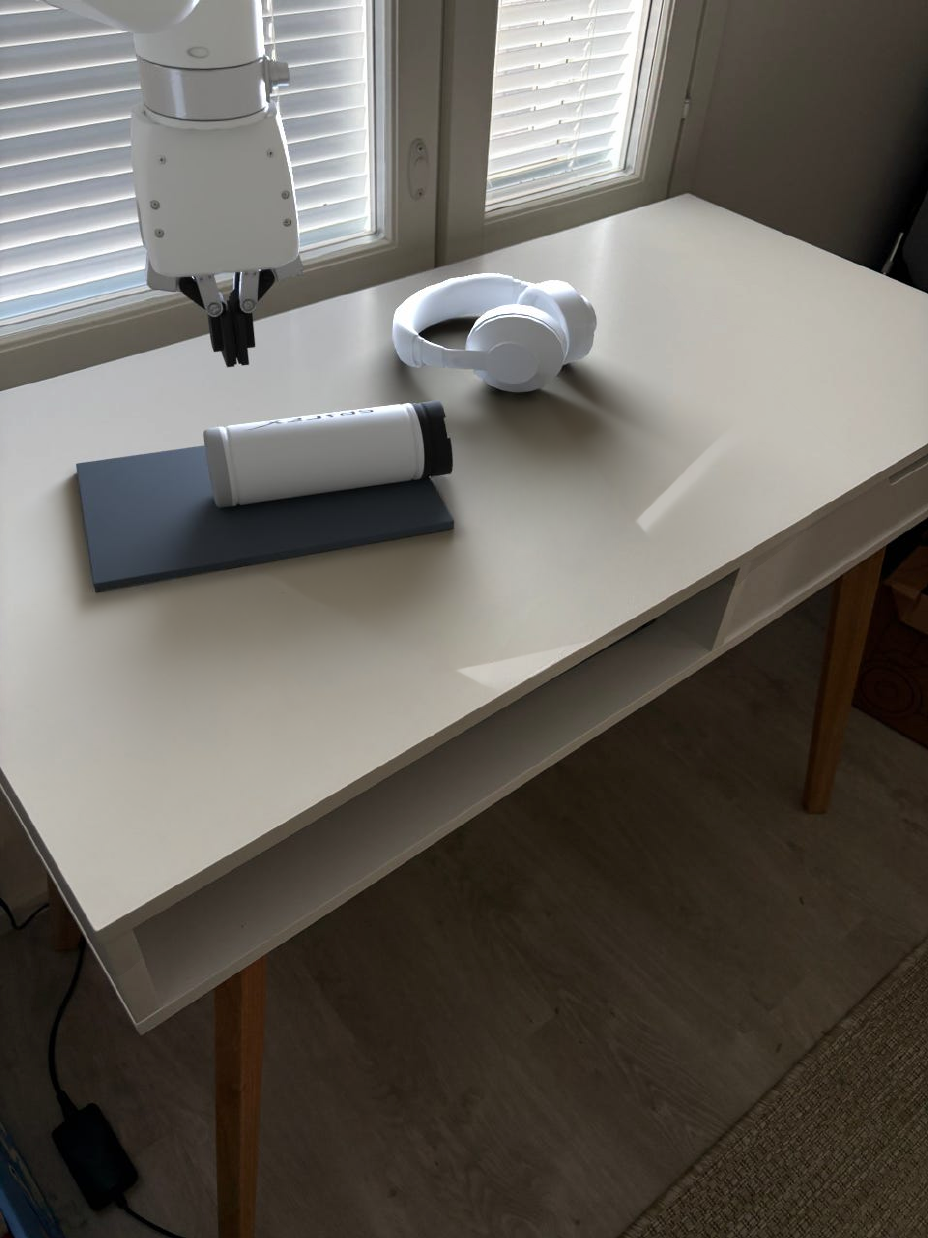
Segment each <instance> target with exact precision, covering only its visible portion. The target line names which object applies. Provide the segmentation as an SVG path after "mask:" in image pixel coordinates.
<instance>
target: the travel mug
mask: <svg viewBox="0 0 928 1238" xmlns="http://www.w3.org/2000/svg"><path fill="white" fill-rule="evenodd" d="M446 417H447V414H446V412H445V407H444V406H443V404H442V402H441V401H440V400H438V399H437V400H430V401H422V402H419V403H417V402H414V403H407V402H406V403H403V404H391V405H384V406H383V405H382V406H376V407H375V406H374V407H368V408H360V409H353V410H343V411H335V412H328V413H320V414H319V413H318V414H311V415H302V416H296V417H288V418H287V417H286V418H280V419H273V420H264V421H256V422H248V423H247V422H246V423H240V424H239V423H237V424H232V425H227V426H226V427H224V426H216V427H207V428H204V430H203V432H202V433H203V434H202V436H203V437H202V438H203V445H204V447H205V453H206V460H207V466H208V472H209V477H210V482H211V487H212V492H213V496H214V500H215V504H216V505H217V506H218V507H219V508H223V507H230V506H236V505H237V504H238V503H239V504H240V505H244V504H250V503H257V502H264V501H271V500H278V499H285V498H292V497H299V496H305V495H312V494H319V493H326V492H333V491H340V490H347V489H354V488H360V487H367V486H374V485H381V484H388V483H395V482H402V481H409V480H411V479H420V478H425V477H427V476H429V477H436V476H437V477H438V476H445V475H451V474H452V473H453V470H454V469H453V468H454V454H453V453H454V452H453V445H452V437H448V431H447V425H446V421H445V418H446Z"/></svg>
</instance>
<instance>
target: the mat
mask: <svg viewBox="0 0 928 1238" xmlns="http://www.w3.org/2000/svg"><path fill="white" fill-rule="evenodd" d="M75 467H76V474H77V481H78V488H79V495H80V503H81V509H82V516H83V523H84V531H85V538H86V545H87V551H88V559H89V565H90V574H91V581H92V586H93V590H94V592H95V593H98V592H99V593H100V592H103V591H109V590H115V589H120V588H121V589H122V588H126V587H132V586H138V585H143V584H144V585H145V584H148V583H155V582H161V581H166V580H171V579H176V578H182V577H188V576H192V575H193V576H194V575H199V574H205V573H211V572H216V571H221V570H227V569H232V568H240V567H245V566H250V565H256V564H261V563H266V562H272V561H279V560H284V559H289V558H295V557H301V556H307V555H312V554H317V553H323V552H328V551H329V552H330V551H335V550H339V549H340V550H341V549H345V548H346V549H347V548H351V547H357V546H362V545H368V544H374V543H379V542H380V543H381V542H385V541H391V540H395V539H396V540H397V539H401V538H407V537H414V536H418V535H424V534H431V533H436V532H441V531H442V532H443V531H446V530H452V529H454V528H455V520H454V517H453V516H452V514H451V512H450V511H449V509H448V507H447V505H446V504H445V502H444V500H443V498H442V497H441V494H440V492H439V491H438V489H437V488H436V487H437V486H435V484H434V482H433V480H432V478H431V476H427V477H425V478H420V479H411V480H409V481H402V482H395V483H388V484H381V485H374V486H367V487H360V488H354V489H347V490H340V491H333V492H326V493H319V494H312V495H305V496H299V497H292V498H285V499H278V500H271V501H264V502H257V503H250V504H244V505H240V504H239V503H238V504H237V505H236V506H230V507H223V508H219V507H218V506H217V505H216V504H215V500H214V496H213V492H212V487H211V482H210V477H209V472H208V466H207V460H206V453H205V447H204V444H202V445H197V446H190V447H183V448H176V449H168V450H162V451H155V452H148V453H147V452H146V453H141V454H133V455H126V456H120V457H112V458H106V459H98V460H92V461H85V462H77V463H76V464H75Z"/></svg>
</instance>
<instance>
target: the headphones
mask: <svg viewBox="0 0 928 1238" xmlns="http://www.w3.org/2000/svg"><path fill="white" fill-rule="evenodd" d="M394 312H395V313H394V315H393V322H392V342H393V346H394V348H395V351H396V353H397V356H398V357H399V359H400V360H401V361H402V362H403V363H404V364H405V365H407V366H408V367H413V368H414V367H415V368H421V367H422V365H423V366H426V365H429V366H434V367H439V368H448V369H455V370H457V369H458V370H472V371H473V372H474V373H475V375H476V376H477V377H478V378H480V379H481V380H482V381H484V383H486V384H487V385H489V386H491V387H494V388H495V389H498V390H500V391H505V392H511V393H527V392H533V391H535V390H538V389H541V388H544V387H545V386H547V385H548V384H549V383H551V382H552V381H554V380H556V378H557V376H558V374H560V372H561V370H562V368H563V366H564V365H567V364H570V363H574V362H577V361H578V360H581V359H583V358H585V357H586V356H587V355H588V354H589V353H590V351H591V350H592V347H593V346H594V345H593V344H594V339H595V332H596V329H597V326H598V322H597V321H598V319H597V315H596V311H595V309H594V307H593V305H592V303H591V302H590V301H589V300H588V299H587V298H586V297H585V296H583V295H581V294H580V293H579V291H577V289H576V288H575V287H573V286H572V285H570V284H569V283H568V282H565V281H561V280H547V281H543V282H541V283H536V284H535V283H531V282H526V281H522V280H521V279H517V278H516V279H515V278H514V276H510V275H505V274H501V273H489V272H488V273H487V272H486V273H479V274H478V273H477V274H472V275H468V276H463V277H453V278H449V279H447V280H444V281H443V282H440V283H436V284H433V285H430V286H427V287H426V288H424V289H422V290H419V291H418V292H416V293H414V294H412V295H411V296H409V297H408V298H407V299H406V300H405V301H404V302H403V303H402V304H401V305H400V306H399V307H398V308H396V310H395V311H394ZM478 314H483V315H482V316H480V317H479V318H478V319H477V320H476V321H475V323H474V325H473V327H472V328H471V330H470V332H469V334H468V335H467V338H466V341H465V349H449V348H445V347H444V346H441V345H438V344H435V343H433V342H430V341H428V340H426V339H425V338H423V337H421V335H420V333H421V332H422V331H424V330H426V329H427V328H429V327H431V326H434V325H436V324H439V323H441V322H444V321H446V320H451V319H456V318H460V317H464V316H468V315H478Z"/></svg>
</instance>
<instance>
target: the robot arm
mask: <svg viewBox="0 0 928 1238" xmlns="http://www.w3.org/2000/svg"><path fill="white" fill-rule="evenodd" d="M34 1H36V2H39V3H41V4H45V5H47V6H50V7H53V8H56V9H59V10H62V11H65V12H70V13H73V14H75V15H77V16H81V17H84V18H86V19H89V20H92V21H95V22H97V23H101V24H103V25H106V26H108V27H111V28H113V29H116V30H120V31H123V32H127V33H131V34H132V36H133V37H132V38H133V43H134V50H135V56H136V57H135V58H136V64H137V70H138V79H139V83H140V90H141V97H142V101H140V102H137V103H135V104H133V105H132V107H131V113H130V152H131V165H132V166H131V167H132V176H133V184H134V195H135V203H136V211H137V219H138V225H139V230H140V236H141V241H142V245H143V247H144V249H145V250H146V252H145V253H146V254H145V263H144V279H145V283H146V286H147V287H148V288H149V289H151V290H153V291H161V292H168V293H181V294H182V295H184V296H185V297H187V298H188V299H190V300H191V301H192V302H194V303H195V304H197V306H199V307H200V308H202V309H203V310H205V312H206V316H207V322H208V323H207V324H208V332H209V338H210V345H211V348H212V351H213V353H220V352H221V355H222V357H223V361H224V363H225V365H226V368H233V367H234V368H235V366H236V365H241V366H249V365H250V358H249V349H254V348H256V338H255V325H254V315H253V314H254V312H255V311H256V310H257V307H258V302H259V301H260V300H261V299H262V298H263V296H265V294H266V293H267V292H268V291H269V290H270V289H271V288H272V286H273V285H274V284H275V283H280V282H283V281H286V280H289V279H292V278H294V277H297V276H300V275H301V274H302V273H303V272H304V265H303V262H302V258H301V255H300V253H299V252H300V229H299V219H298V210H297V209H298V208H297V204H296V194H295V186H294V181H293V179H294V178H293V174H292V173H293V172H292V166H291V161H290V155H289V149H288V144H287V139H286V134H285V131H284V127H283V122H282V118H281V115H280V112H279V108H278V104H277V103H276V101H274V100H273V99H271V94H273V89H279V87H282V86H290V84H291V77H290V74H291V73H290V68H289V63H288V61H287V60H284V61H276V60H275V59H274V58H273V59H272V58H271V59H270V58H269V56H268V55H267V54H266V53H265V45H264V29H263V18H262V17H263V16H262V2H261V1H262V0H34ZM232 273H233V278H232V290H231V292H230V293H229V295H228V299H226V300H225V298H224V295H223V293H221V292H220V291H219V288H218V284H217V281H216V277H215V275H223V274H232Z"/></svg>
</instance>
